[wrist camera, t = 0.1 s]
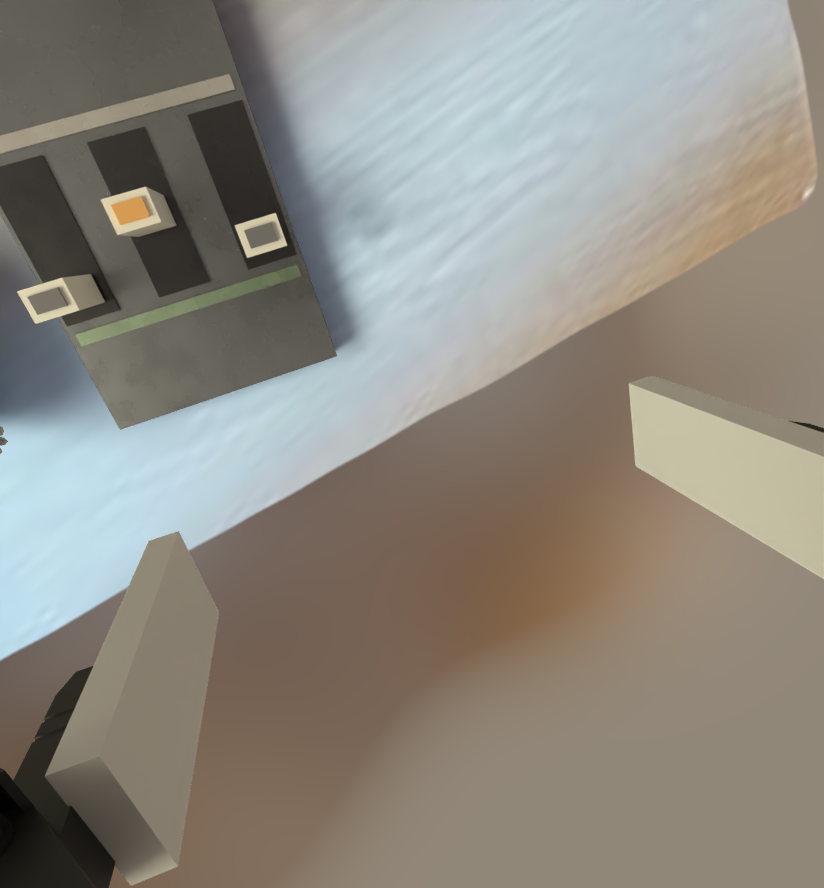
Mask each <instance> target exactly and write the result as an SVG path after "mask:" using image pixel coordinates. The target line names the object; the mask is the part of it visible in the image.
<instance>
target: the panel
mask: <svg viewBox="0 0 824 888" xmlns="http://www.w3.org/2000/svg"><path fill="white" fill-rule="evenodd" d="M142 187H148V188H150V189H152V190H154V191H156V192H158V193H160V194H162V195H164V197H165V200H166V202H167V204H168V207H169V209H170V211H171V214H172V216H173V218H174V221H175V223H176V225H177V226H174V227H170V228H167V229H164V230H160V231H157V232H154V233H150V234H147V235H144V236H140V237H134V236H123V235H117V233H116V231H115V229H114V227H113V225H112V223H111V221H110V218H109V216H108V214H107V212H106V210H105V208H104V206H103V204H102V202H101V199H104V198H108V197H111V196H115V195H118V194H122V193H125V192H128V191H132V190H135V189H139V188H142ZM274 213H276V215H277V218H278V221H279V224H280V226H281V229H282V232H283V235H284V238H285V240H286V243H287V246H285V247H281V248H278V249H275V250H272V251H269V252H265V253H262V254H259V255H256V256H252V257H249V258H247V256H246V254H245V251H244V248H243V246H242V243H241V241H240V238H239V236H238V233H237V231H236V228H235V225H237V224H241V223H244V222H247V221H251V220H254V219H257V218H260V217H264V216H267V215H270V214H274ZM0 214H1V216H2V218H3V220H4V221H5V223H6V225H7V227H8V229H9V230H10V232H11V234H12V236H13V238H14V240H15V241H16V243H17V245H18V247H19V249H20V250H21V252H22V254H23V256H24V258H25V259H26V261H27V263H28V265H29V267H30V268H31V270H32V272H33V274H34V276H35V277H36V279H37V281H38V283H39V285H40V284H43V283H46V282H50V281H53V280H56V279H59V278H64V277H71V276H79V275H87V274H91V275H92V277H93V279H94V281H95V283H96V285H97V287H98V289H99V291H100V293H101V295H102V297H103V299H104V301H105V303H102V304H98V305H95V306H92V307H89V308H86V309H82V310H79V311H76V312H73V313H70V314H66V315H63V316H60V317H58V319H59V321H60V322H61V324H62V326H63V328H64V330H65V331H66V333H67V335H68V337H69V339H70V340H71V342H72V344H73V346H74V348H75V349H76V351H77V353H78V355H79V357H80V358H81V360H82V362H83V364H84V366H85V367H86V369H87V371H88V373H89V375H90V376H91V378H92V380H93V382H94V384H95V385H96V387H97V389H98V391H99V393H100V394H101V396H102V398H103V400H104V402H105V403H106V405H107V407H108V409H109V411H110V412H111V414H112V416H113V418H114V420H115V421H116V423H117V425H118V427H119V429H120V430H121V429H124V428H127V427H130V426H133V425H135V424H138V423H141V422H144V421H147V420H150V419H153V418H156V417H159V416H162V415H165V414H168V413H171V412H174V411H177V410H180V409H183V408H185V407H188V406H191V405H194V404H197V403H200V402H203V401H206V400H209V399H212V398H215V397H218V396H221V395H224V394H227V393H230V392H232V391H235V390H238V389H241V388H244V387H247V386H250V385H253V384H256V383H259V382H262V381H265V380H268V379H271V378H274V377H277V376H280V375H282V374H285V373H288V372H291V371H294V370H297V369H300V368H303V367H306V366H309V365H312V364H315V363H318V362H321V361H324V360H327V359H329V358H332V357H335V356H337V355H336V352H335V349H334V346H333V343H332V340H331V337H330V335H329V332H328V329H327V326H326V323H325V320H324V317H323V314H322V312H321V309H320V306H319V303H318V300H317V297H316V294H315V292H314V289H313V286H312V283H311V280H310V277H309V274H308V272H307V269H306V266H305V263H304V260H303V257H302V254H301V252H300V249H299V246H298V243H297V240H296V237H295V234H294V232H293V229H292V226H291V223H290V220H289V217H288V214H287V212H286V209H285V206H284V203H283V200H282V197H281V194H280V192H279V189H278V186H277V183H276V180H275V177H274V174H273V172H272V169H271V166H270V163H269V160H268V157H267V154H266V152H265V149H264V146H263V143H262V140H261V137H260V134H259V132H258V129H257V126H256V123H255V120H254V117H253V114H252V112H251V109H250V106H249V103H248V100H247V97H246V94H245V92H244V89H243V86H242V83H241V80H240V77H239V74H238V71H237V69H236V66H235V63H234V60H233V57H232V54H231V51H230V49H229V46H228V43H227V40H226V37H225V34H224V31H223V29H222V26H221V23H220V20H219V17H218V14H217V11H216V9H215V6H214V3H213V0H0Z"/></svg>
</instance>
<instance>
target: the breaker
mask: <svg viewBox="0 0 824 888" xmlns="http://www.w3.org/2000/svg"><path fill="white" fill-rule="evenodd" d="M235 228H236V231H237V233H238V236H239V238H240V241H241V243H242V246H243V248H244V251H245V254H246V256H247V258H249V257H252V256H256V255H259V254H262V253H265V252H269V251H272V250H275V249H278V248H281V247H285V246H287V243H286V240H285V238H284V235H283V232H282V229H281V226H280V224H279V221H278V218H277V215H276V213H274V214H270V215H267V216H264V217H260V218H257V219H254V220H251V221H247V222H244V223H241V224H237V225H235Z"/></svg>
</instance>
